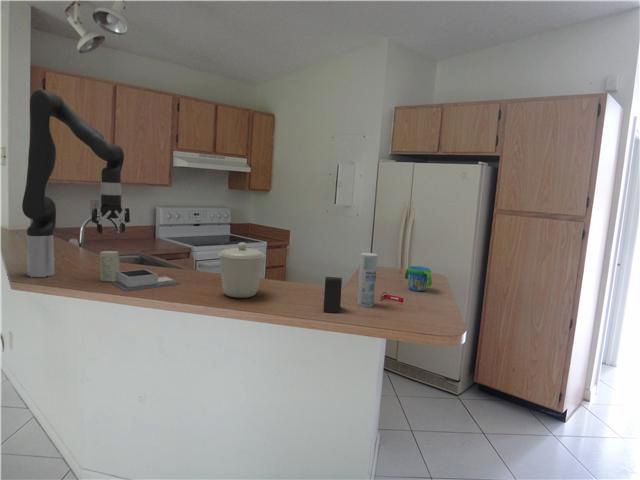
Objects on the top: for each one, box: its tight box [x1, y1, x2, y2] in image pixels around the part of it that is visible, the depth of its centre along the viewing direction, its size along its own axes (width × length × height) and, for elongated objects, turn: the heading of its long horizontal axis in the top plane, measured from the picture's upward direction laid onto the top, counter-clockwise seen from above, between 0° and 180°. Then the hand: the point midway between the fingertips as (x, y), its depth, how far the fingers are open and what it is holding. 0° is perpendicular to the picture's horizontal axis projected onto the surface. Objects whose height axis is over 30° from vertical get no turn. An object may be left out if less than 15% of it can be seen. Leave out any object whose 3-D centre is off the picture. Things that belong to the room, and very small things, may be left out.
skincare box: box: [99, 250, 121, 283], centre depth 178 cm, size 6×4×12 cm
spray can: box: [357, 252, 379, 308], centre depth 165 cm, size 6×6×20 cm
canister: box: [217, 241, 266, 299], centre depth 168 cm, size 18×18×21 cm
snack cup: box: [404, 265, 433, 293], centre depth 195 cm, size 16×10×10 cm
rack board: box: [112, 268, 181, 292], centre depth 176 cm, size 22×14×5 cm, turn 135°
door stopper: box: [323, 276, 343, 314], centre depth 156 cm, size 9×6×12 cm, turn 179°
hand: (111, 233), depth 176 cm, fingers open, 8 cm apart
